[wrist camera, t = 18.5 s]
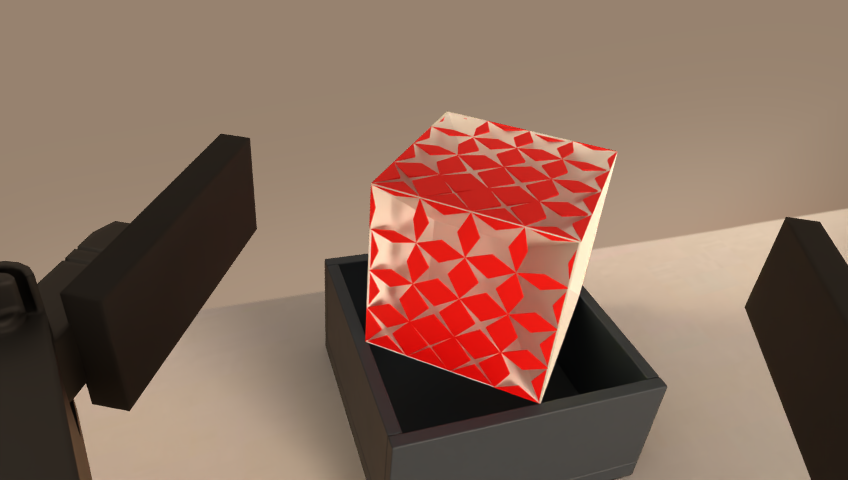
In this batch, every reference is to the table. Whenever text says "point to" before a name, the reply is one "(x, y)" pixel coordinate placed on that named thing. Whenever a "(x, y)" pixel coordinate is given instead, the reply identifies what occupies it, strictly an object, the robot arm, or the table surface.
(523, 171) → the red patterned cube
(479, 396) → the bin
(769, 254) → the robot arm
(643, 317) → the table surface
